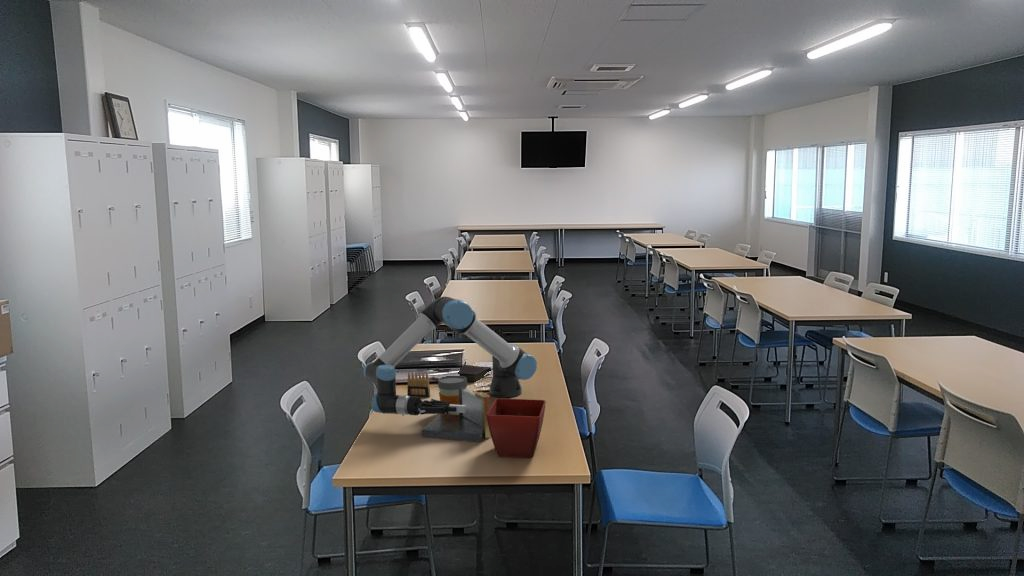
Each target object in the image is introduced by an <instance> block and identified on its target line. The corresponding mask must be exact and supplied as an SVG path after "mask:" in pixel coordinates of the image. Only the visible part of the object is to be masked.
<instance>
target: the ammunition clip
mask: <svg viewBox="0 0 1024 576" xmlns="http://www.w3.org/2000/svg"><path fill="white" fill-rule="evenodd" d="M406 390H407V393H406V394H407V395H406V396H410V397H411V396H418V397H420V398H426V397H427V398H430V397H431V391H430V380H429V374H428V372H426V373H425V372H424V371H422V373H421V371H418V372H417V371H415V373H414V371H412V372H410V371H408V372H407V389H406ZM427 398H426V399H427Z"/></svg>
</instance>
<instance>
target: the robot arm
mask: <svg viewBox="0 0 1024 576" xmlns="http://www.w3.org/2000/svg"><path fill="white" fill-rule="evenodd" d="M442 324H443V325H445V326H446V327H449V328H450V329H451V330H453V331H454V332H456V334H458V335H465V336H466V337H467V338H469V339H470V340H471V341H473V342H474V343H475V344H477V345H478V346H479V347H480V348H482V350H483V349H484V350H485V351H486V352H487V353H489V354H490V355H491V356H492V360H491V362H492V379H491V383H490V386H489V394H490V395H489V396H492V397H496V398H513V397H518V396H520V395H521V394H523V392H522V391H523V389H522V388H523V387H522V385H521V382H520V380H523V381H527V380H529V379H531V378H532V377H533V376H534V375H535V374H536V371H537V369H538V362H537V359H536V357H535V356H534V355H532V354H530V353H527V352H525V351H524V350H523V349H522V348H520V347H519V346H518V345H517V344H514V343H509V342H507V341H506V340H505V339H504V338H502V337H501V336H500V335H499V334H497V333H496V332H495V331H494V330H492V328H489V327H488V325H486V324H485V323H483V322H482V321H481V320H480V319H479V318H477V314H476V311H474V310H473V309H472V307H471V306H470V304H469V303H467V302H466V301H464V300H462V299H457V298H454V297H453V298H452V297H450V296H441V297H438V298H436V299H434V300H433V301H431V302H429V304H428V305H427V306H425V308H423V309H422V311H421V312H419V317H418V318H417V319H416V320H415V321H413V323H412V324H411V325H409V327H408V328H407V329H406V330H405V331H404V332H403V333H402V334H400V336H398V337H397V339H396V340H395V341H393V342H392V344H391V345H390V346H389V347H388V348H387V349H386V350H384V351H383V353H381V354H380V356H379V357H378V358H376V359H375V360H374V361H373V362H372V361H371V362H368V363H366V364H365V366H364V368H363V375H364V377H365V378H366V380H368V381H370V382H371V383H373V384H374V385H375V386H376V389H377V390H376V391H377V393H375V394H374V395H372V398H371V402H370V404H371V409H372V411H373V412H374V413H379V414H385V415H386V414H389V415H390V414H391V415H402V416H403V417H404V416H405V415H409V416H419V414H420V415H439V414H445V412H446V414H449V412H457V413H465V412H466V405H454V404H451V402H445V401H440V399H439V400H437V399H435V398H434V399H433V398H431V399H430V400H427V399H425V400H422V399H421V398H422V397H418V396H411V397H410V396H407V395H400V394H399V395H397V388H396V387H397V383H396V382H397V381H396V376H397V374H396V368H395V366H396V365H397V364H399V363H400V362H401V361H402V360H403V359H404V358H405V356H407V355H408V354H409V353H410V352H411V351H412V349H414V348H415V347H416V346H417V345H418V344H419V342H421V341H422V340H423V339H424V337H426V336H427V334H428V333H430V332H431V331H432V330H436V329H437V328H438V327H439V326H441V325H442Z"/></svg>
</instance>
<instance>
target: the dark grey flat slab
mask: <svg viewBox="0 0 1024 576" xmlns="http://www.w3.org/2000/svg"><path fill="white" fill-rule="evenodd" d="M421 438H428V439H429V438H430V439H443V440H451V441H463V440H465V441H466V442H467V441H468V442H477V443H482V441H483V440H485V438H484V430H482V426H481V425H479V424H477V423H475V422H473V421H472V420H470V419H468V418H466V417H464V416H461V415H455V414H437V416H436V417H435V418H434V419H432V420H431V421H430V422H429V423H428V424H427V425H426V426H424V427H423V428H422V429H421ZM465 441H464V442H465Z"/></svg>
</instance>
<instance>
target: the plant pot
mask: <svg viewBox="0 0 1024 576" xmlns="http://www.w3.org/2000/svg"><path fill="white" fill-rule="evenodd" d="M545 410H546V400H544V399H527V398H526V399H525V398H523V399H522V398H496V399H494V401H493V403H492V405H490V409H489V411H488V413H487V414H486V415H487V421H488V426H489V430H490V434H491V441H492V443H493V446H494V449H495V453H496V454H497V457H501V458H502V457H505V458H524V459H528V458H529V459H532V458H533V457H534V455H535V452H536V449H537V447H538V443H539V441H540V436H541V431H542V427H543V421H544V417H545V412H546V411H545Z"/></svg>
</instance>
